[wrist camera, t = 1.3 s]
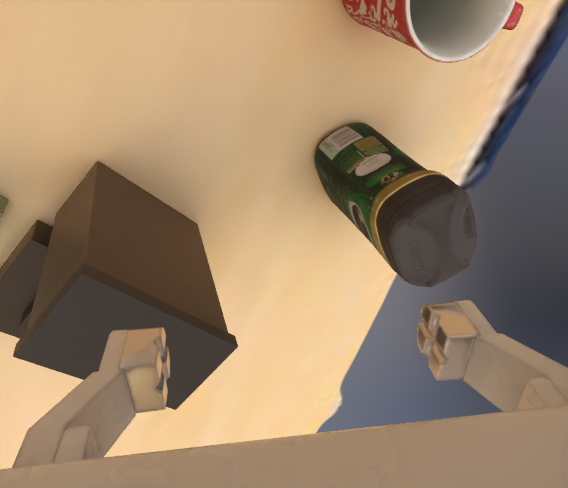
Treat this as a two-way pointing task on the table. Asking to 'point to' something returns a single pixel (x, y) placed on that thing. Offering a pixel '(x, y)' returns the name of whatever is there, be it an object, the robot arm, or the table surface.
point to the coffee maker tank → (125, 285)
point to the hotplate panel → (2, 204)
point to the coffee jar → (398, 204)
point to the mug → (438, 23)
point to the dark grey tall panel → (22, 280)
